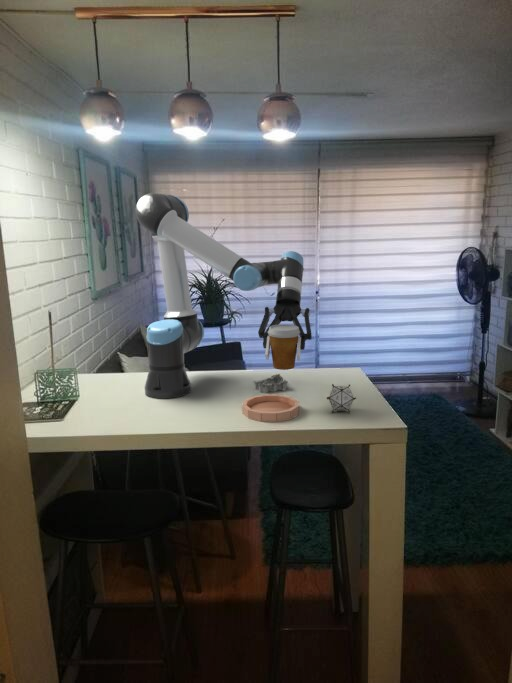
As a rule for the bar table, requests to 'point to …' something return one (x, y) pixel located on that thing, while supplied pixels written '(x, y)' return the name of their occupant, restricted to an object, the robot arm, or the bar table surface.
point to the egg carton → (271, 384)
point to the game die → (341, 398)
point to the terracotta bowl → (270, 408)
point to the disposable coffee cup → (283, 345)
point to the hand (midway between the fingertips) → (282, 357)
